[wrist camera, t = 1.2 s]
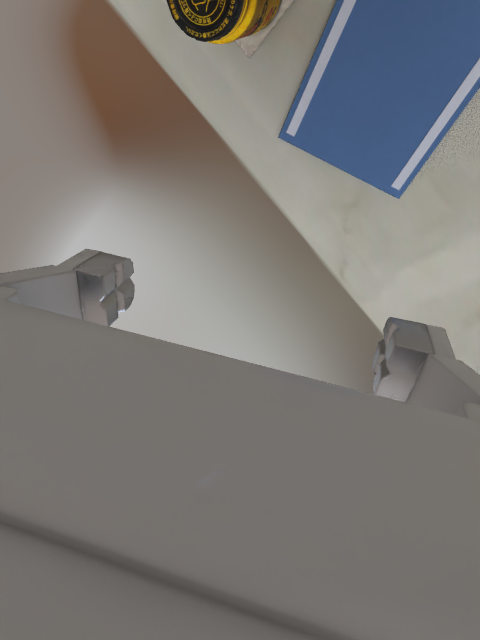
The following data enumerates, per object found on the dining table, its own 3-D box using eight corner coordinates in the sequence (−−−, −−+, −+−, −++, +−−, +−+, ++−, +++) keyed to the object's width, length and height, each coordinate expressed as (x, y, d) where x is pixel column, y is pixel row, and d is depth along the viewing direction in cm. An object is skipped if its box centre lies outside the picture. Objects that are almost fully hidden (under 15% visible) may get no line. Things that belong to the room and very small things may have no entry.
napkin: (366, -69, 29) (366, -70, 29) (528, 18, 30) (530, 18, 30) (278, 136, 40) (278, 137, 40) (398, 197, 41) (398, 199, 40)
